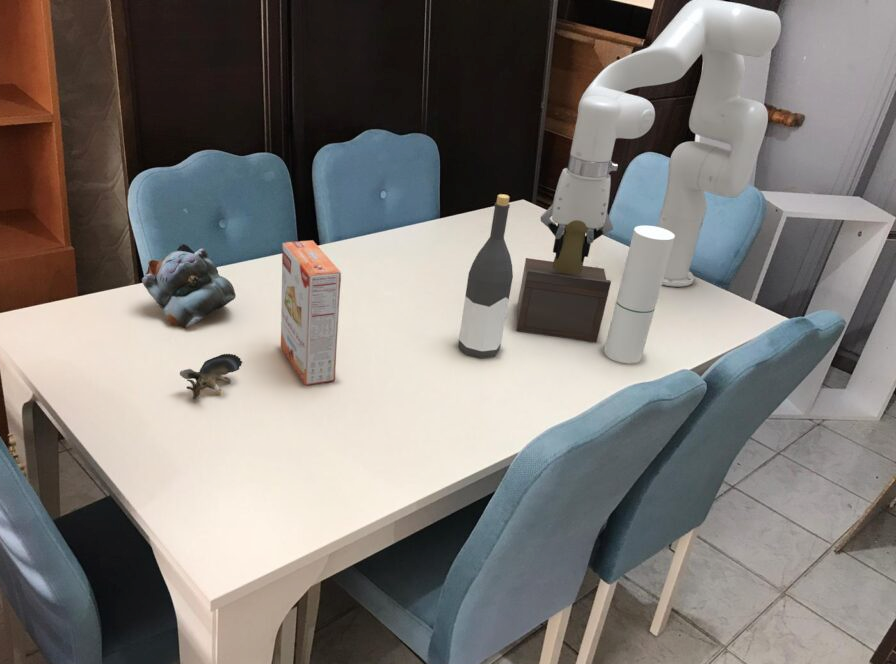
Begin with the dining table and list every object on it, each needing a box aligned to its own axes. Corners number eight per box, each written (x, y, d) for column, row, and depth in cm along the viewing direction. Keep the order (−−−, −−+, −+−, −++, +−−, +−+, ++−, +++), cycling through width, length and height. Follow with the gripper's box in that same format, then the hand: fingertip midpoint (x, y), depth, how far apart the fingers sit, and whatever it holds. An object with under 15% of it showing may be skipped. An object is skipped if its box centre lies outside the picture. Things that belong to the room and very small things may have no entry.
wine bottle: (476, 334, 165) (500, 185, 150) (508, 350, 161) (536, 198, 146) (449, 346, 160) (470, 193, 145) (481, 363, 156) (507, 206, 140)
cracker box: (278, 348, 154) (280, 240, 143) (309, 345, 156) (314, 238, 145) (302, 387, 143) (307, 273, 132) (335, 382, 145) (343, 270, 135)
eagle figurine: (221, 404, 134) (252, 372, 140) (196, 369, 131) (228, 337, 138) (192, 412, 139) (223, 380, 145) (167, 378, 136) (199, 347, 142)
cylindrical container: (642, 350, 166) (675, 230, 153) (639, 366, 160) (673, 242, 147) (605, 342, 167) (635, 222, 155) (601, 358, 161) (632, 234, 149)
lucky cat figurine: (172, 335, 155) (139, 264, 151) (161, 331, 166) (130, 265, 162) (245, 301, 159) (214, 232, 156) (230, 299, 170) (201, 235, 166)
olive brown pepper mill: (582, 276, 164) (594, 222, 159) (551, 271, 165) (562, 217, 159) (582, 264, 169) (594, 212, 164) (552, 260, 170) (562, 207, 165)
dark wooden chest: (517, 306, 179) (527, 248, 172) (592, 316, 177) (606, 259, 171) (516, 330, 169) (527, 270, 162) (596, 342, 167) (611, 282, 161)
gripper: (631, 166, 159) (610, 256, 169) (543, 155, 161) (527, 245, 170) (635, 177, 153) (613, 271, 162) (543, 166, 154) (526, 259, 164)
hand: (569, 257), depth 166 cm, fingers closed on olive brown pepper mill, 4 cm apart
